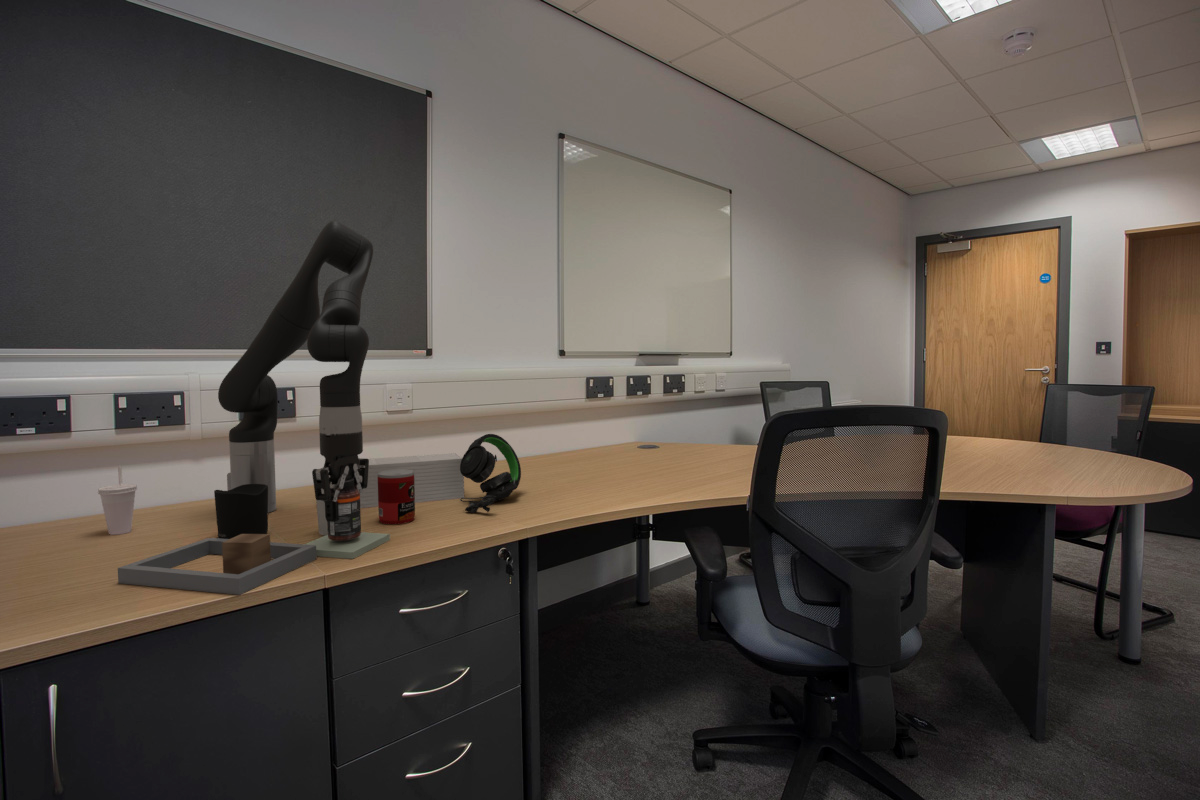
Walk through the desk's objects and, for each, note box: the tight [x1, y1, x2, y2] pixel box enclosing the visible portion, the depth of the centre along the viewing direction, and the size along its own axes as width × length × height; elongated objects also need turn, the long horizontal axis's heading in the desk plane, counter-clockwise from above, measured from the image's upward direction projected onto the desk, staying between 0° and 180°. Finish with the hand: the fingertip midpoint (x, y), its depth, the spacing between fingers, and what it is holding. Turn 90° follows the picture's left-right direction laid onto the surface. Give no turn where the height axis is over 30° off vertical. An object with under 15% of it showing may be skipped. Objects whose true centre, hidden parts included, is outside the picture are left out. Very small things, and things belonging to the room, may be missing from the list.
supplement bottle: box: [327, 478, 362, 541], centre depth 114 cm, size 6×6×11 cm
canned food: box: [377, 469, 416, 525], centre depth 134 cm, size 8×8×11 cm
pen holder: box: [213, 484, 269, 539], centre depth 122 cm, size 9×9×10 cm
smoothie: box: [97, 465, 138, 536], centre depth 125 cm, size 6×6×14 cm
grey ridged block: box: [360, 452, 465, 509], centre depth 155 cm, size 32×11×11 cm, turn 116°
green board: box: [303, 531, 391, 560], centre depth 114 cm, size 12×12×1 cm
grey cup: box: [315, 482, 332, 536], centre depth 125 cm, size 7×7×10 cm
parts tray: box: [117, 537, 318, 596], centre depth 101 cm, size 23×17×2 cm
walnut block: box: [222, 533, 272, 574], centre depth 100 cm, size 5×5×6 cm
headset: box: [459, 433, 522, 514], centre depth 151 cm, size 16×12×27 cm
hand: (343, 516), depth 114 cm, fingers closed on supplement bottle, 6 cm apart
